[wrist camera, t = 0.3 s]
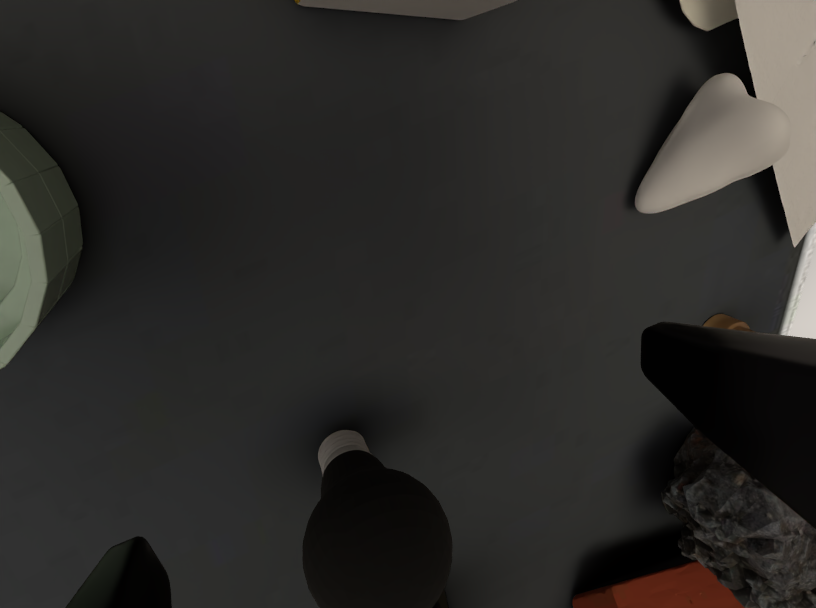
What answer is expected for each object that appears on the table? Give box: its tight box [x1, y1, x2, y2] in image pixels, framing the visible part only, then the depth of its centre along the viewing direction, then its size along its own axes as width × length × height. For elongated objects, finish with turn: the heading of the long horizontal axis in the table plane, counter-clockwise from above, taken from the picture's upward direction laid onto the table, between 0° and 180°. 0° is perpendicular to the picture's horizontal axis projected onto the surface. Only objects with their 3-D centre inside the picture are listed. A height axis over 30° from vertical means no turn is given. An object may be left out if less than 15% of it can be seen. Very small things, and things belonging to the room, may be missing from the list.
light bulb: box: [303, 430, 452, 608], centre depth 21 cm, size 6×6×10 cm
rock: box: [661, 427, 816, 608], centre depth 34 cm, size 16×14×15 cm
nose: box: [635, 73, 791, 213], centre depth 24 cm, size 5×7×7 cm
